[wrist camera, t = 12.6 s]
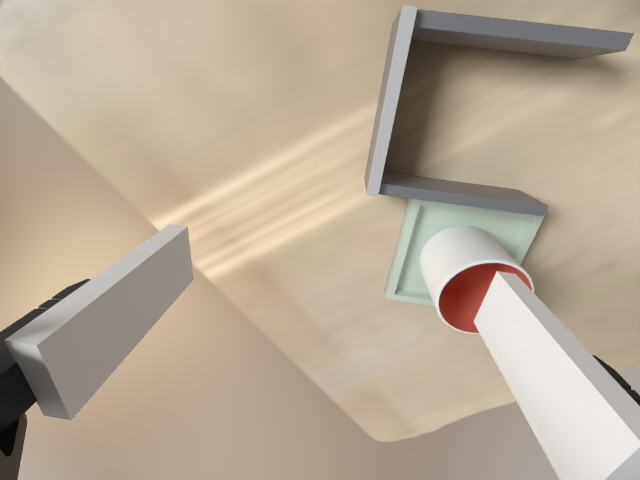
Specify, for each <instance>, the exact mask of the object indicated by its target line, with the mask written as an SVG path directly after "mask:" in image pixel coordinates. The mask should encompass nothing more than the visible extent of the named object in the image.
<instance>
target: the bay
mask: <svg viewBox="0 0 640 480" xmlns="http://www.w3.org/2000/svg"><path fill="white" fill-rule="evenodd" d="M417 8H418V7H417V6H408V5H403V6H402V8H401V10H400V12H399V14H398V15H397V17H396V19H395V21H394V23H393V25H392V31H391V36H390V42H389V47H388V52H387V58H386V63H385V69H384V74H383V80H382V85H381V91H380V96H379V102H378V107H377V113H376V118H375V124H374V129H373V135H372V140H371V146H370V151H369V157H368V162H367V168H366V173H365V178H364V179H365V186H366V192H367V195H373V196H378V194H381V195H389V196H396V197H403V198H411V199H418V200H425V201H433V202H440V203H447V204H455V205H462V206H470V207H477V208H484V209H492V210H499V211H506V212H514V213H521V214H528V215H536V216H543V215H544V213H545V211H546V209H547V207H548V206H547V205H545V204H543V203H542V202H540V201H538V200H536V199H534V198H532V197H531V196H529V195H527V194H525V193H523V192H521V191H520V190H515V189H508V188H500V187H493V186H485V185H477V184H470V183H462V182H455V181H447V180H440V179H432V178H425V177H417V176H410V175H402V174H395V173H387V172H383V170H384V165H385V161H386V156H387V151H388V146H389V142H390V137H391V132H392V127H393V122H394V118H395V113H396V108H397V103H398V99H399V94H400V89H401V84H402V80H403V75H404V70H405V65H406V61H407V56H408V51H409V46H410V42H411V40H413V41H422V42H431V43H439V44H448V45H457V46H465V47H474V48H483V49H491V50H500V51H509V52H518V53H526V54H535V55H544V56H552V57H561V58H570V59H580V58H586V57H591V56H597V55H603V54H609V53H614V52H620V51H625V50H626V48H627V46H628V44H629V42H630V40H631V38H632V36H633V34H634V33H625V32H616V31H607V30H598V29H589V28H580V27H571V26H562V25H553V24H544V23H535V22H526V21H517V20H508V19H499V18H490V17H481V16H472V15H463V14H454V13H445V12H436V11H427V10H418V9H417Z"/></svg>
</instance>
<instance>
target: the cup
mask: <svg viewBox="0 0 640 480" xmlns="http://www.w3.org/2000/svg"><path fill="white" fill-rule="evenodd" d="M419 264H420V270H421V273H422V275H423V278H424V280H425V283H426V285H427V288H428V290H429V293H430V295H431V298H432V300H433V303H434V305H435V308H436V310H437V313H438V315H439V317H440V318H441V319H442V321H443V322H444V323H446V324H447V325H448V326H449V327H451V328H453V329H455V330H457V331H460V332H464V333H469V334H480V333H479V331H478V329H477V327H476V326H475V324H474V319H475V317H476V315H477V313H478V311H479V309H480V306H481V304H482V302H483V300H484V298H485V296H486V293H487V291H488V289H489V287H490V285H491V283H492V281H493V278H494V276H495V274H496V272H497V271H500V272H507V273H514V274H516V275H517V276H518V277H519V278H520V279H521V280H522V281H523V282H524V283H525V284H526V285H527V286H528V287H529V289H530V290H531V291H532V292H533V293H534V285H533V281H532V279H531V277H530V276H529V274H528V273H527V272H526V271H525V270H524V269H523V268H522V267H521V266H520V265H519V264H518V263H517V262H516V261H515V260H514V259H513V258H512V257H511V256H510V255H509V254H508V253H507V252H506V251H505V250H504V249H503V248H502V247H501V246H500V245H499V244H498V243H497V242H496V241H495V240H494V239H493V238H492V237H491V236H490V235H489V234H488V233H486V232H485V231H483V230H481V229H479V228H476V227H471V226H454V227H450V228H447V229H444V230H442V231H440V232H438V233H437V234H435V235H434V236H433V237H431V238H430V239H429V240H428V242H427V243H426V244H425V246H424V247H423V249H422V251H421V254H420V260H419Z"/></svg>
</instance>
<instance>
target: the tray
mask: <svg viewBox="0 0 640 480" xmlns="http://www.w3.org/2000/svg"><path fill="white" fill-rule="evenodd" d="M545 215H546V214H545V213H544V215H543V216H536V215H528V214H521V213H514V212H506V211H499V210H492V209H484V208H477V207H470V206H462V205H455V204H447V203H440V202H433V201H425V200H418V199H411V198H409V200H408V204H407V208H406V211H405V215H404V219H403V223H402V227H401V230H400V234H399V238H398V242H397V246H396V250H395V253H394V257H393V261H392V265H391V269H390V272H389V276H388V280H387V284H386V288H385V295H386V299H390V300H396V301H403V302H410V303H416V304H423V305H430V306H435V305H434V303H433V300H432V298H431V295H430V293H429V290H428V288H427V285H426V283H425V280H424V278H423V275H422V273H421V270H420V264H419V260H420V254H421V251H422V249H423V247H424V246H425V244H426V243H427V242H428V240H429V239H430V238H431V237H433V236H434V235H435V234H437V233H438V232H440V231H442V230H444V229H447V228H450V227H454V226H471V227H476V228H479V229H481V230H483V231H485V232H486V233H488V234H489V235H490V236H491V237H492V238H493V239H494V240H495V241H496V242H497V243H498V244H499V245H500V246H501V247H502V248H503V249H504V250H505V251H506V252H507V253H508V254H509V255H510V256H511V257H512V258H513V259H514V260H515V261H516V262H517V263H518V264H519V265H521V263H522V261H523V259H524V257H525V255H526V253H527V251H528V249H529V247H530V245H531V243H532V241H533V239H534V237H535V235H536V233H537V231H538V229H539V227H540V225H541V223H542V221H543V219H544V217H545Z"/></svg>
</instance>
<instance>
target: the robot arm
mask: <svg viewBox="0 0 640 480" xmlns="http://www.w3.org/2000/svg"><path fill="white" fill-rule="evenodd" d="M192 281H193V271H192V262H191V253H190V244H189V234H188V227H186V226H179V225H172V224H170V225H169V226H167V227H166V228H164V229H163V230H161V231H160V232H159V233H157V234H156V235H154V236H153V237H151V238H150V239H149V240H147V241H146V242H144V243H143V244H141V245H140V246H138V247H137V248H136V249H134V250H133V251H131V252H130V253H128V254H127V255H126V256H124V257H123V258H121V259H120V260H118V261H117V262H116V263H114V264H113V265H111V266H110V267H108V268H107V269H106V270H104V271H103V272H101V273H100V274H98V275H97V276H96V277H94V278H93V279H91V280H90V279H86V280H84V281H81V282H79V283H76V284H74V285H72V286H69V287H67V288H66V289H64V290H63V291H61V292H60V293H58V294H57V295H55V296H54V297H52V299H51V300H48V301H46V302H45V303H43V304H42V305H40V306H39V308H38V309H34V310H33V311H31V312H30V313H28V314H27V315H25V316H24V317H22V318H21V319H19V320H18V321H16V322H15V323H13V324H12V325H10V326H9V327H7V328H6V329H4V330H3V331H1V332H0V480H17V478H18V473H19V467H20V461H21V455H22V450H23V444H24V438H25V432H26V427H27V418H26V414H25V412H26V411H27V410H28V409H29V408H30V407H31V406H32V405H33V404H34V403H35V402H36V401H37V403H38V405H39V407H40V409H41V411H42V413H43V415H45V416H51V417H57V418H63V419H69V420H72V418H73V417H74V416H75V415H76V414H77V413H78V412H79V411H80V409H81V408H82V407H83V406H84V405H85V404H86V402H87V401H88V400H89V399H90V398H91V397H92V396H93V394H94V393H95V392H96V391H97V390H98V389H99V388H100V386H101V385H102V384H103V383H104V382H105V380H106V379H107V378H108V377H109V376H110V375H111V374H112V373H113V371H114V370H115V369H116V368H117V367H118V366H119V364H120V363H121V362H122V361H123V360H124V359H125V358H126V356H127V355H128V354H129V353H130V352H131V351H132V349H133V348H134V347H135V346H136V345H137V344H138V343H139V342H140V340H141V339H142V338H143V337H144V336H145V335H146V334H147V332H148V331H149V330H150V329H151V328H152V326H153V325H154V324H155V323H156V322H157V321H158V320H159V318H160V317H161V316H162V315H163V314H164V313H165V312H166V311H167V309H168V308H169V307H170V306H171V305H172V304H173V302H174V301H175V300H176V299H177V298H178V297H179V296H180V294H181V293H182V292H183V291H184V290H185V289H186V287H187V286H188V285H189V284H190V283H191V282H192ZM474 324H475V326H476V327H477V329H478V331H479V333H480V335H481V336H482V338H483V340H484V342H485V344H486V346H487V347H488V349H489V351H490V353H491V355H492V357H493V358H494V360H495V362H496V364H497V366H498V368H499V369H500V371H501V373H502V375H503V377H504V379H505V380H506V382H507V384H508V386H509V388H510V390H511V391H512V393H513V395H514V397H515V399H516V401H517V402H518V404H519V406H520V408H521V410H522V411H523V413H524V415H525V417H526V418H527V421H528V422H529V424H530V426H531V428H532V429H533V432H534V433H535V435H536V437H537V439H538V441H539V442H540V444H541V446H542V448H543V450H544V452H545V454H546V455H547V457H548V459H549V461H550V463H551V465H552V466H553V468H554V470H555V472H556V474H557V475H558V477H559V479H560V480H640V396H639V394H638V393H637V392H636V391H634V390H631V386H630V385H629V384H628V383H627V382H626V381H625V380H624V379H623V378H622V377H621V376H620V375H619V374H618V373H617V372H616V371H615V370H614V369H613V368H611V367H610V366H609V365H607V364H606V363H604V362H603V361H602V360H600V359H599V358H598V357H596V356H595V355H591V354H590V353H589V352H588V351H587V349H586V348H585V347H584V346H583V345H582V344H581V343H580V342H579V341H578V340H577V339H576V338H575V337H574V336H573V334H572V333H571V332H570V331H569V330H568V329H567V328H566V327H565V326H564V325H563V324H562V323H561V322H560V321H559V320H558V318H557V317H556V316H555V315H554V314H553V313H552V312H551V311H550V310H549V309H548V308H547V307H546V306H545V305H544V304H543V302H542V301H541V300H540V299H539V298H538V297H537V296H536V295H535V294H534V293H533V292H532V291H531V290H530V289H529V287H528V286H527V285H526V284H525V283H524V282H523V281H522V280H521V279H520V278H519V277H518V276H517V275H516V274H514V273H507V272H500V271H497V272H496V274H495V276H494V278H493V281H492V283H491V285H490V287H489V289H488V291H487V293H486V296H485V298H484V300H483V302H482V304H481V306H480V309H479V311H478V313H477V315H476V317H475V319H474Z"/></svg>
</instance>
